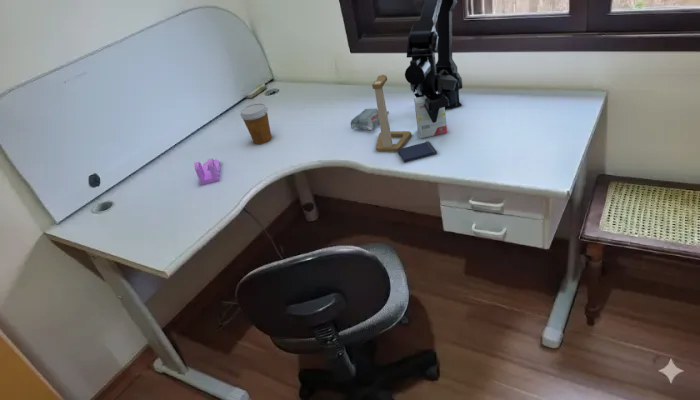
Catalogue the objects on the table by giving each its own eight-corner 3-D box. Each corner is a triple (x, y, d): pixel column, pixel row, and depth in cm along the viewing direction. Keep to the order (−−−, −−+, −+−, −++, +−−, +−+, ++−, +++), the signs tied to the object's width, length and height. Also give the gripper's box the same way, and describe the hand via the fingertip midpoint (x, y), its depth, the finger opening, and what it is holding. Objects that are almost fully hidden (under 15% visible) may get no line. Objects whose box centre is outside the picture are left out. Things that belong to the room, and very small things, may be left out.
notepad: (429, 143, 158) (428, 140, 157) (437, 154, 152) (436, 151, 151) (397, 152, 157) (397, 149, 156) (404, 163, 151) (404, 159, 150)
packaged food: (390, 119, 177) (387, 105, 174) (371, 135, 169) (369, 121, 167) (368, 116, 182) (366, 104, 179) (350, 132, 174) (347, 119, 172)
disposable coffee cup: (281, 136, 182) (272, 104, 175) (260, 148, 176) (250, 116, 170) (264, 131, 188) (255, 100, 181) (244, 143, 182) (233, 112, 176)
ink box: (443, 126, 165) (440, 91, 159) (447, 133, 161) (444, 97, 155) (417, 131, 165) (413, 97, 159) (420, 138, 161) (416, 103, 155)
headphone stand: (412, 134, 164) (403, 68, 152) (404, 152, 156) (394, 83, 144) (380, 135, 168) (369, 70, 156) (371, 152, 160) (358, 85, 148)
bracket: (218, 180, 163) (211, 161, 159) (201, 185, 163) (193, 166, 159) (220, 161, 174) (213, 143, 170) (204, 165, 174) (197, 147, 170)
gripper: (464, 74, 145) (467, 124, 153) (441, 55, 160) (445, 101, 169) (426, 84, 144) (432, 133, 153) (407, 64, 160) (413, 110, 168)
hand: (431, 119), depth 161 cm, fingers closed on ink box, 5 cm apart
